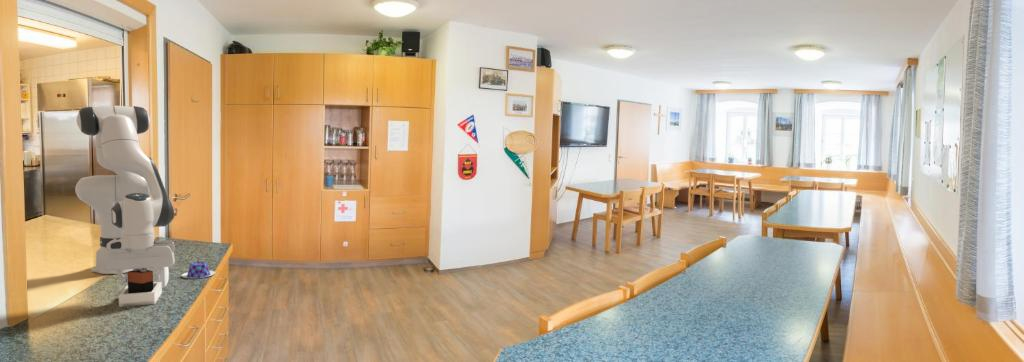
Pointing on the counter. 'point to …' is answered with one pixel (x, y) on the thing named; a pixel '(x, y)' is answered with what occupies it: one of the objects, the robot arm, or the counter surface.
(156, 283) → the trough
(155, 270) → the photo printer
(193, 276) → the pudding
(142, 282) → the battery
